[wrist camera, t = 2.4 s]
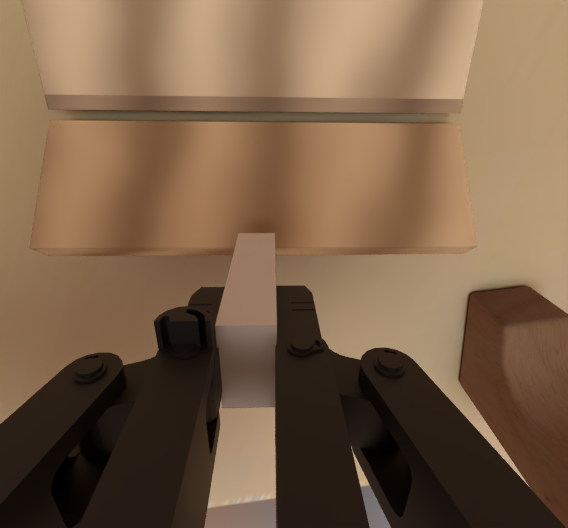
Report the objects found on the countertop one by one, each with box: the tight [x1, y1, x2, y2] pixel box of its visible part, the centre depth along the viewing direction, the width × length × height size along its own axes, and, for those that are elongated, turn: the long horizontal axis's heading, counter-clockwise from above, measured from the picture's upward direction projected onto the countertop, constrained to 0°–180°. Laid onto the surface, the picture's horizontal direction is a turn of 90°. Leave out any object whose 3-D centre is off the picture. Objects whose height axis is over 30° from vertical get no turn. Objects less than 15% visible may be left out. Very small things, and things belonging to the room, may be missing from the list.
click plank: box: [30, 120, 477, 256], centre depth 19 cm, size 22×7×2 cm
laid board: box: [21, 0, 483, 113], centre depth 18 cm, size 22×6×2 cm, turn 89°
